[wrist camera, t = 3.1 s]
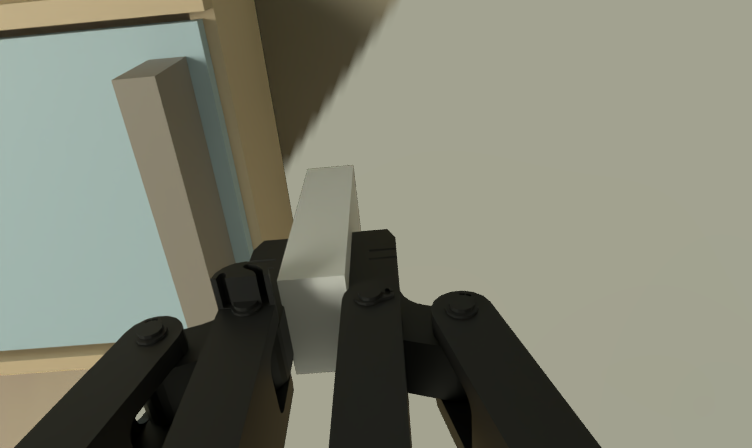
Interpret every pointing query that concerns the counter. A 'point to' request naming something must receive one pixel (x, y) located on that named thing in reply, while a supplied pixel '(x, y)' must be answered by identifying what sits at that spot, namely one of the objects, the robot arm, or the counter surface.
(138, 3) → the wooden box
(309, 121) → the counter surface
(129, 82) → the lid
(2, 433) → the counter surface
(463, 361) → the robot arm
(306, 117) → the counter surface
